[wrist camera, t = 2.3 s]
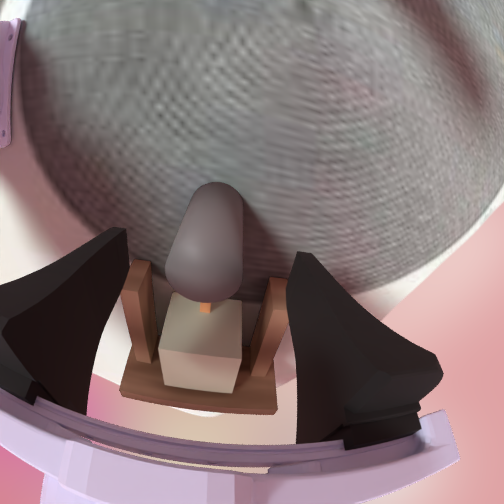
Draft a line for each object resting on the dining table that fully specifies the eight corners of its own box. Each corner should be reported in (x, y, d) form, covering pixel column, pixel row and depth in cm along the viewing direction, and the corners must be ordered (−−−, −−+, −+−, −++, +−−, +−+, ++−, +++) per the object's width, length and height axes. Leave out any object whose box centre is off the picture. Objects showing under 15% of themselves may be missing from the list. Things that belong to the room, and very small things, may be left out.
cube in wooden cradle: (123, 257, 17) (89, 323, 12) (298, 280, 18) (314, 352, 13) (138, 339, 22) (122, 396, 17) (269, 355, 23) (273, 414, 18)
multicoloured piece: (174, 177, 14) (138, 233, 9) (265, 188, 15) (276, 251, 10) (174, 334, 22) (162, 396, 17) (233, 341, 22) (231, 405, 17)
